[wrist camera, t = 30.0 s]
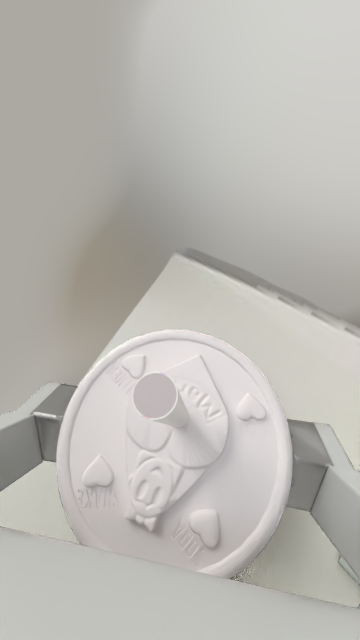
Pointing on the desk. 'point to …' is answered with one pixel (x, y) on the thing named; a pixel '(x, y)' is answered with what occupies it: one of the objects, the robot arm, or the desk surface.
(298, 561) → the desk surface
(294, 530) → the desk surface
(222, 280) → the desk surface
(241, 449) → the smoothie
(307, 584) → the desk surface
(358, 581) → the small box
